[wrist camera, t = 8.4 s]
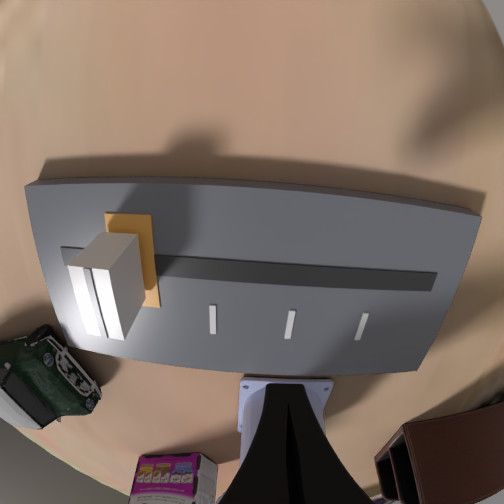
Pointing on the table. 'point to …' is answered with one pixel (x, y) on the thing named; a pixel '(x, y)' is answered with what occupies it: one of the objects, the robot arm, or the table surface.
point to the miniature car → (42, 382)
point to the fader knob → (109, 284)
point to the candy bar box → (174, 480)
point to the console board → (261, 271)
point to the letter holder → (445, 459)
